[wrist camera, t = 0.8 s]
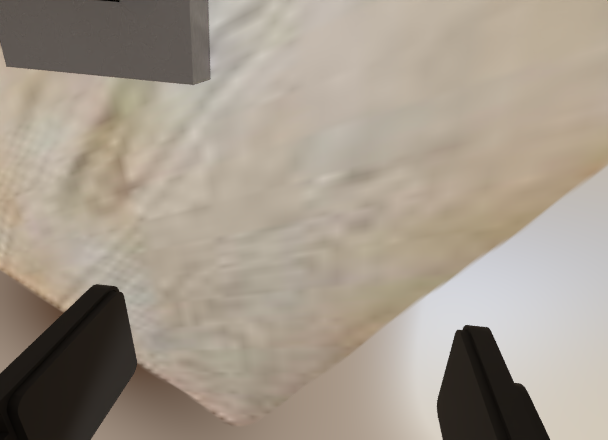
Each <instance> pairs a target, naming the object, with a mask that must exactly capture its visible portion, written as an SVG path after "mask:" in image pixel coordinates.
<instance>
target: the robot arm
mask: <svg viewBox="0 0 608 440" xmlns="http://www.w3.org/2000/svg"><path fill="white" fill-rule="evenodd" d="M136 366H137V359H136V354H135V349H134V344H133V339H132V334H131V329H130V324H129V319H128V314H127V309H126V304H125V299H124V295H123V293H122V292H119V289H118V288H117V287H115V286H108V285H99V284H96V285H93V286H92V287H91V288H90V289H89V290H87V291H86V292H85V293H84V294H83V295H82V296H81V297H80V298H79V299H78V300H77V301H76V302H75V303H74V304H73V305H72V306H71V307H70V308H69V309H68V310H67V311H65V312H64V313H63V314H62V315H61V316H60V317H59V318H58V319H57V320H56V321H55V322H54V323H53V324H52V325H51V326H50V327H49V328H48V329H47V330H46V331H44V333H42V335H40V336H39V337H38V338H37V339H36V340H35V341H34V342H33V343H32V344H31V345H30V346H29V347H28V348H27V349H26V350H25V351H24V352H22V353H21V354H20V356H19V357H17V358H16V359H15V360H14V361H13V362H12V363H11V364H10V365H9V366H8V367H7V368H6V369H5V370H4V371H3V372H2V373H1V374H0V440H91V438H92V437H93V435H94V434H95V432H96V431H97V429H98V427H99V426H100V424H101V423H102V421H103V420H104V418H105V417H106V415H107V414H108V412H109V411H110V409H111V408H112V406H113V404H114V403H115V402H116V400H117V398H118V397H119V395H120V394H121V392H122V391H123V389H124V388H125V386H126V385H127V383H128V382H129V380H130V379H131V377H132V376H133V374H134V372H135V370H136ZM437 413H438V418H439V423H440V428H441V433H442V437H443V440H550V438H549V436H548V434H547V432H546V430H545V428H544V425H543V423H542V421H541V419H540V417H539V415H538V413H537V411H536V409H535V407H534V404H533V402H532V400H531V398H530V396H529V394H528V392H527V390H526V389H525V387H524V386H523V385H522V384H519V383H514V381H513V379H512V377H511V375H510V373H509V370H508V368H507V366H506V364H505V361H504V359H503V357H502V355H501V352H500V350H499V348H498V346H497V344H496V341H495V339H494V337H493V335H492V332H491V330H490V329H489V328H488V327H479V326H470V325H465V326H464V328H463V330H457V331H456V333H455V336H454V340H453V344H452V348H451V352H450V355H449V359H448V362H447V366H446V370H445V374H444V377H443V381H442V385H441V388H440V392H439V396H438V400H437Z"/></svg>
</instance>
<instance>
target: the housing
mask: <svg viewBox="0 0 608 440" xmlns="http://www.w3.org/2000/svg"><path fill="white" fill-rule="evenodd" d="M0 42H1V46H2V50H3V54H4V58H5V62H6V67H16V68H27V69H37V70H47V71H57V72H67V73H78V74H88V75H98V76H108V77H118V78H129V79H139V80H149V81H159V82H169V83H179V84H190V85H195V84H198V83H201V82H204V81H207V80H210V49H209V14H208V0H120V2H111V1H99V0H0Z"/></svg>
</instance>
